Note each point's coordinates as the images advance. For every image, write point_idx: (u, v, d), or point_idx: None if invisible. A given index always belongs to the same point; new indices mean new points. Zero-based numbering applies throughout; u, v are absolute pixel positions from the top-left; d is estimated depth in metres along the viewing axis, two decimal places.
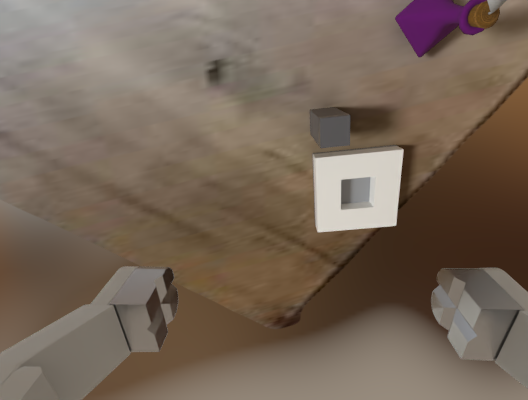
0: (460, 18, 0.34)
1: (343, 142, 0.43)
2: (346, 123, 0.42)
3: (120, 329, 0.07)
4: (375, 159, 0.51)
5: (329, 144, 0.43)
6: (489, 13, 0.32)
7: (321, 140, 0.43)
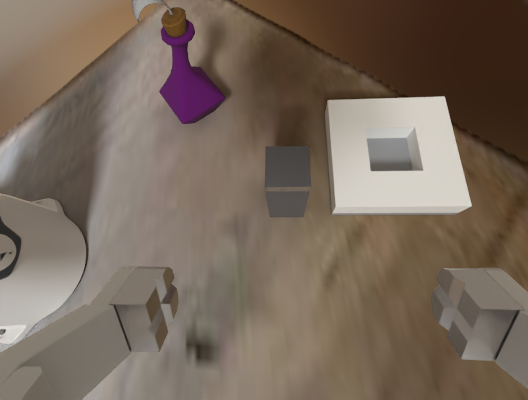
0: (175, 43, 0.32)
1: (304, 154, 0.29)
2: (276, 151, 0.29)
3: (120, 329, 0.07)
4: (340, 129, 0.38)
5: (305, 173, 0.28)
6: (171, 13, 0.31)
7: (298, 184, 0.28)
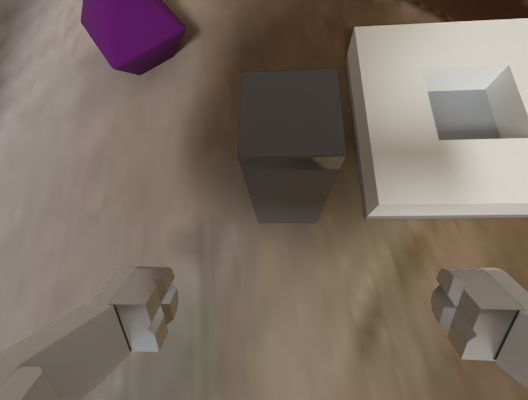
0: None
1: (327, 85, 0.13)
2: (265, 80, 0.13)
3: (120, 329, 0.07)
4: (378, 72, 0.22)
5: (333, 125, 0.12)
6: None
7: (317, 151, 0.12)
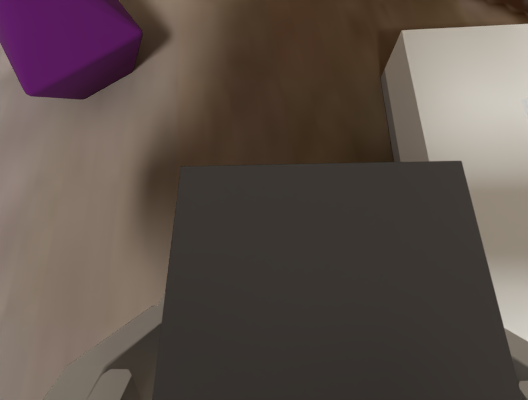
0: None
1: (439, 220, 0.04)
2: (247, 196, 0.04)
3: None
4: (447, 105, 0.13)
5: (482, 392, 0.03)
6: None
7: None
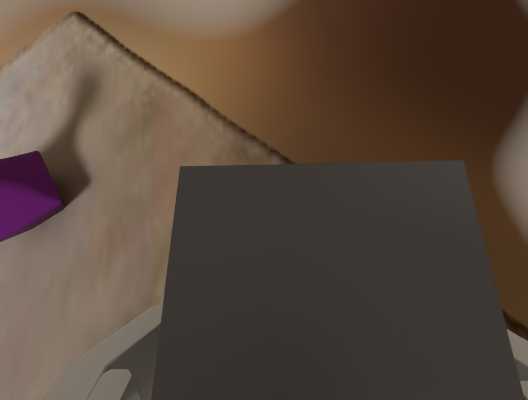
0: None
1: (441, 221, 0.04)
2: (247, 196, 0.04)
3: None
4: None
5: (485, 395, 0.03)
6: None
7: None
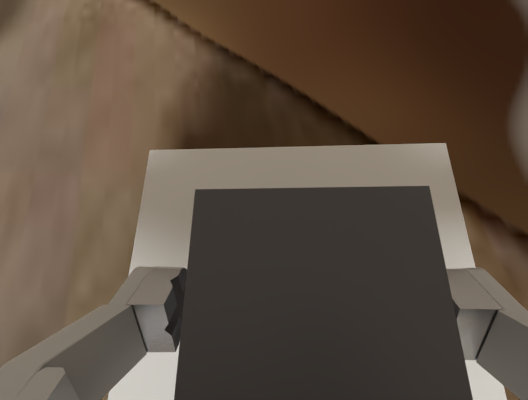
0: None
1: (409, 236, 0.05)
2: (251, 215, 0.05)
3: (137, 329, 0.07)
4: (162, 237, 0.14)
5: (438, 374, 0.04)
6: None
7: None
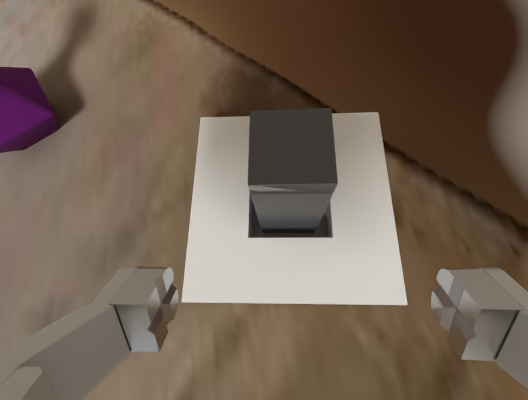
0: None
1: (322, 123, 0.15)
2: (270, 118, 0.15)
3: (120, 329, 0.07)
4: (211, 165, 0.24)
5: (327, 158, 0.14)
6: None
7: (313, 180, 0.14)
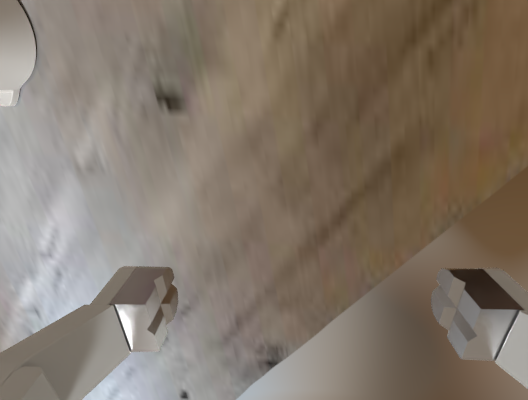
0: None
1: None
2: None
3: (120, 329, 0.07)
4: None
5: None
6: None
7: None
